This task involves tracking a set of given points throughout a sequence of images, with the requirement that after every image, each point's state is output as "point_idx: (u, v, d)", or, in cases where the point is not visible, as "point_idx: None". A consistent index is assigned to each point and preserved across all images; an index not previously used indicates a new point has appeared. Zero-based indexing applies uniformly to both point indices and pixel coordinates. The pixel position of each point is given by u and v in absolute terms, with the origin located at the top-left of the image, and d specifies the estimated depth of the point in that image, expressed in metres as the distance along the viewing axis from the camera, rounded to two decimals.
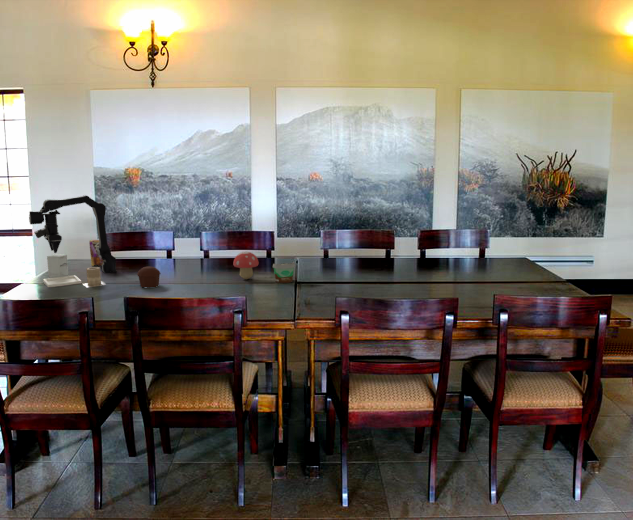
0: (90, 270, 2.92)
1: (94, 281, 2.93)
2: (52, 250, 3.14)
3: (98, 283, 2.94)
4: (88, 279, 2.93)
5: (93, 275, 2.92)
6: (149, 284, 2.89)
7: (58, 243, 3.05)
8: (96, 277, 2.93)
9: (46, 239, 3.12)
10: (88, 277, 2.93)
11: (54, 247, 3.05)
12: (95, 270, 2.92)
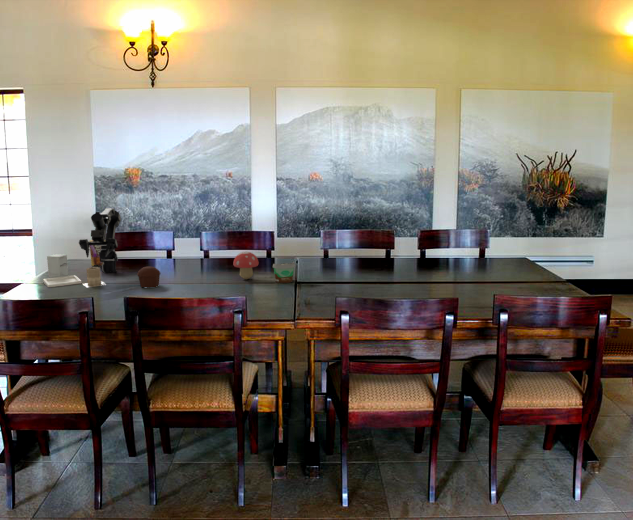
0: (90, 270, 2.92)
1: (94, 281, 2.93)
2: (87, 256, 3.01)
3: (98, 283, 2.94)
4: (88, 279, 2.93)
5: (93, 275, 2.92)
6: (149, 284, 2.89)
7: (110, 250, 3.06)
8: (96, 277, 2.93)
9: (86, 244, 3.02)
10: (88, 277, 2.93)
11: (107, 251, 3.03)
12: (95, 270, 2.92)
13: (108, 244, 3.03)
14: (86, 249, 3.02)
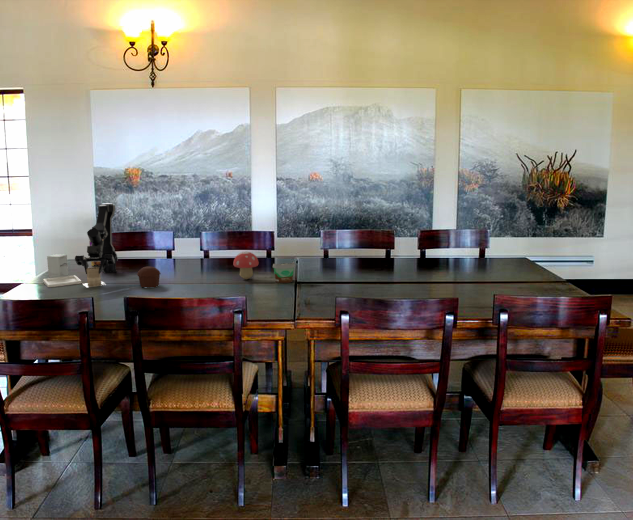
0: (90, 270, 2.92)
1: (94, 281, 2.93)
2: (86, 273, 2.93)
3: (98, 283, 2.94)
4: (88, 279, 2.93)
5: (93, 275, 2.92)
6: (149, 284, 2.89)
7: (104, 266, 2.98)
8: (96, 277, 2.93)
9: (85, 260, 2.95)
10: (88, 277, 2.93)
11: (101, 267, 2.95)
12: (95, 270, 2.92)
13: (102, 260, 2.95)
14: (85, 265, 2.94)
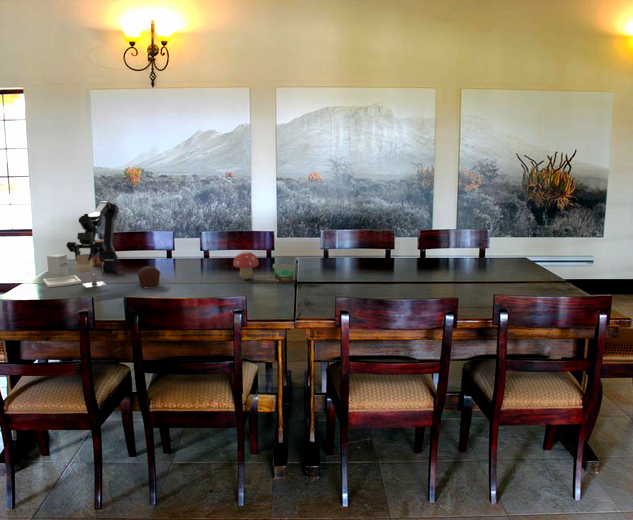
0: (79, 257, 2.90)
1: (83, 268, 2.91)
2: (76, 260, 2.92)
3: (88, 270, 2.93)
4: (78, 266, 2.92)
5: (82, 262, 2.91)
6: (149, 284, 2.89)
7: (95, 253, 2.96)
8: (86, 264, 2.92)
9: (76, 247, 2.94)
10: (78, 264, 2.92)
11: (91, 254, 2.93)
12: (84, 257, 2.91)
13: (92, 247, 2.94)
14: (76, 252, 2.94)
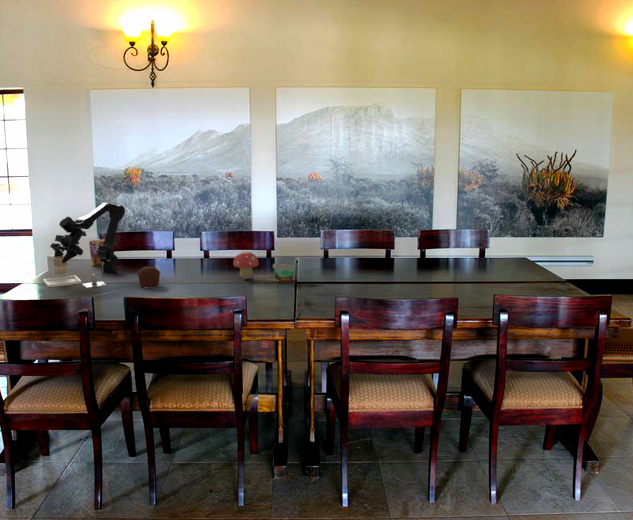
0: (54, 259, 2.96)
1: (57, 270, 2.96)
2: None
3: (61, 272, 2.97)
4: None
5: (56, 264, 2.96)
6: (149, 284, 2.89)
7: (72, 256, 2.99)
8: (60, 266, 2.96)
9: (56, 249, 3.00)
10: None
11: (66, 257, 2.96)
12: (58, 259, 2.95)
13: (67, 250, 2.96)
14: (55, 253, 3.00)
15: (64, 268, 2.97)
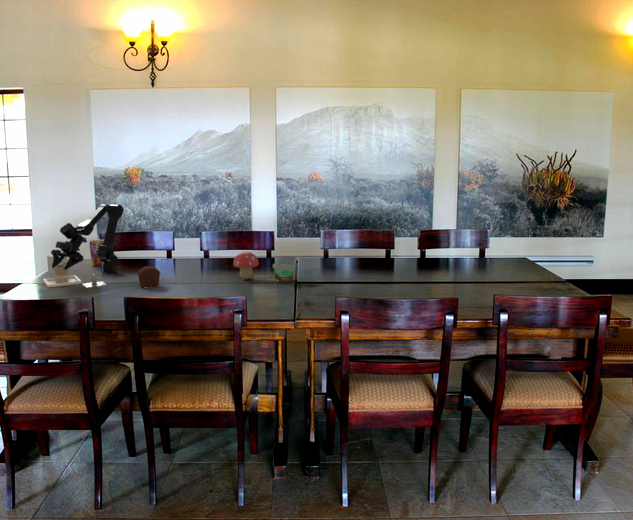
0: (55, 268, 2.97)
1: (58, 279, 2.97)
2: (53, 267, 3.00)
3: (62, 281, 2.98)
4: (55, 276, 2.99)
5: (57, 273, 2.96)
6: (149, 284, 2.89)
7: (74, 263, 2.99)
8: (60, 275, 2.97)
9: (55, 255, 3.01)
10: (55, 274, 2.99)
11: (68, 264, 2.96)
12: (59, 268, 2.96)
13: (70, 257, 2.96)
14: (54, 260, 3.01)
15: (65, 277, 2.98)
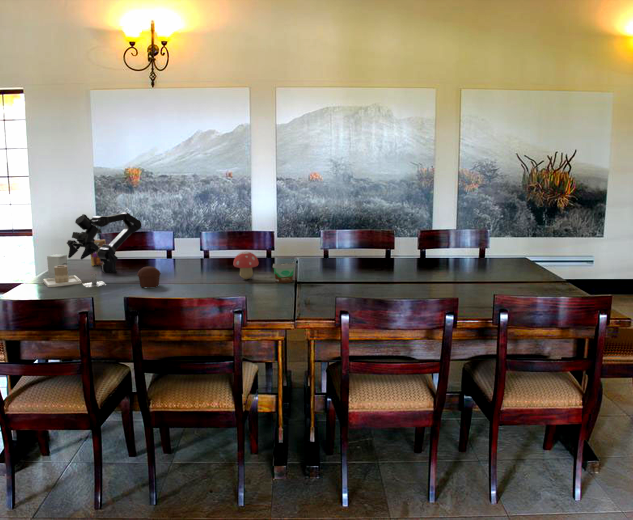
0: (55, 268, 2.97)
1: (58, 279, 2.97)
2: (69, 257, 3.09)
3: (62, 281, 2.98)
4: (55, 276, 2.99)
5: (57, 273, 2.96)
6: (149, 284, 2.89)
7: (90, 253, 3.08)
8: (60, 275, 2.97)
9: (71, 245, 3.10)
10: (55, 274, 2.99)
11: (84, 254, 3.06)
12: (59, 268, 2.96)
13: (86, 247, 3.06)
14: (70, 250, 3.10)
15: (65, 277, 2.98)
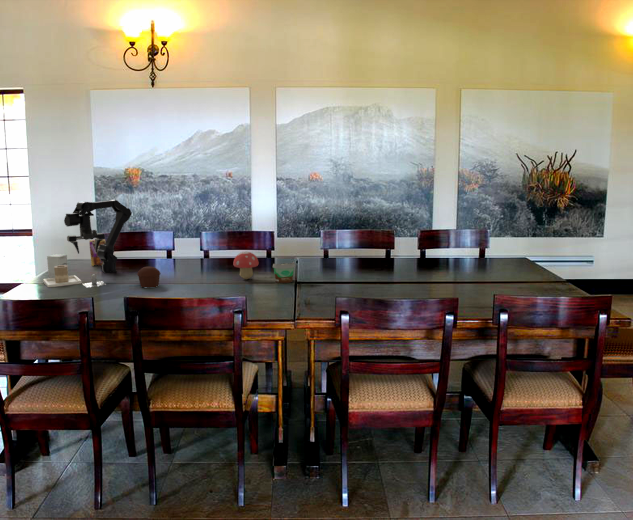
0: (55, 268, 2.97)
1: (58, 279, 2.97)
2: None
3: (62, 281, 2.98)
4: (55, 276, 2.99)
5: (57, 273, 2.96)
6: (149, 284, 2.89)
7: None
8: (60, 275, 2.97)
9: (77, 242, 3.11)
10: (55, 274, 2.99)
11: None
12: (59, 268, 2.96)
13: (98, 241, 3.17)
14: (77, 246, 3.12)
15: (65, 277, 2.98)
